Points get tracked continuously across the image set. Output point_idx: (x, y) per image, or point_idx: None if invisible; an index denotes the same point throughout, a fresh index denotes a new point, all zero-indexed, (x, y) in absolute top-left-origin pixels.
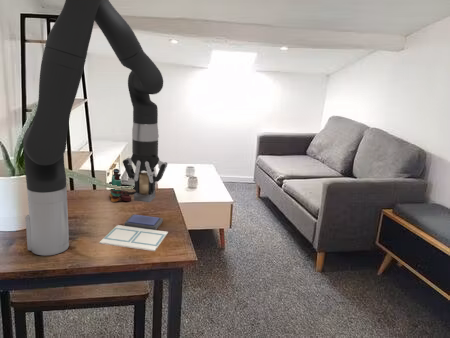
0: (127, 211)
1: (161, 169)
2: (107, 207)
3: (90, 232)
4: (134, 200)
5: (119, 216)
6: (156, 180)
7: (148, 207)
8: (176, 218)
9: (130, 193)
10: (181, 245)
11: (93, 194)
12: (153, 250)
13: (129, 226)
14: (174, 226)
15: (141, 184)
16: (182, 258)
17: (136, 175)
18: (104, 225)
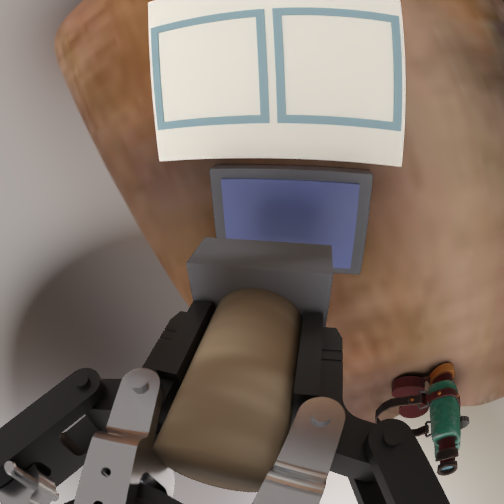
0: (392, 314)
1: (3, 445)
2: (463, 325)
3: (478, 86)
4: (328, 245)
5: (415, 265)
6: (91, 378)
7: None
8: (190, 292)
9: (395, 402)
10: (89, 88)
11: (493, 383)
12: (154, 1)
13: (344, 168)
14: (165, 226)
15: (254, 360)
16: (69, 20)
17: (308, 459)
18: (453, 164)
